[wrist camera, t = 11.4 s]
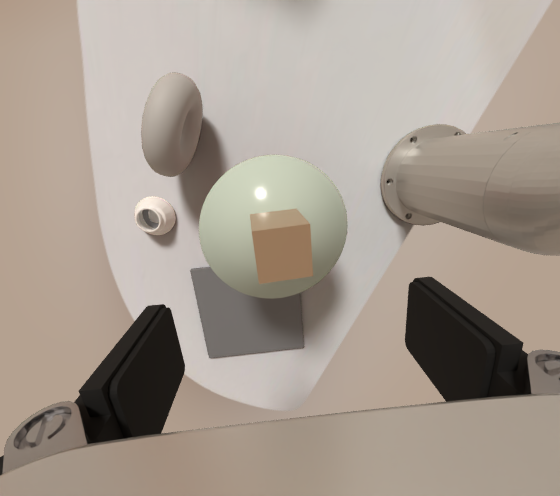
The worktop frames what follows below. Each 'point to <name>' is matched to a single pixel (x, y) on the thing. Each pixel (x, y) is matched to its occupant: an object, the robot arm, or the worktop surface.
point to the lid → (273, 226)
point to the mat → (244, 318)
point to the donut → (171, 124)
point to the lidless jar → (155, 215)
